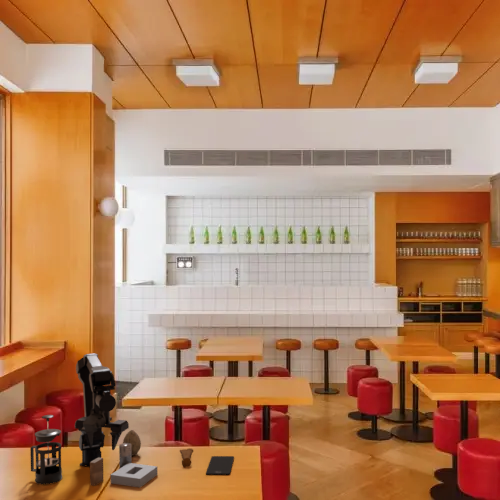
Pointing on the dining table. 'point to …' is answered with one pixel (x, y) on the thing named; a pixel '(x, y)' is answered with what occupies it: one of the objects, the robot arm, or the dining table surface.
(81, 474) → the dining table surface
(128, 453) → the round metal peg
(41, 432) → the french press
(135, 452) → the decorative egg
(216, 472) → the cell phone
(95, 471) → the walnut bar
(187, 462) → the primitive tool
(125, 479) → the slotted block
